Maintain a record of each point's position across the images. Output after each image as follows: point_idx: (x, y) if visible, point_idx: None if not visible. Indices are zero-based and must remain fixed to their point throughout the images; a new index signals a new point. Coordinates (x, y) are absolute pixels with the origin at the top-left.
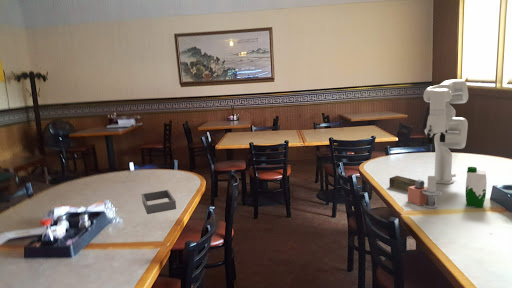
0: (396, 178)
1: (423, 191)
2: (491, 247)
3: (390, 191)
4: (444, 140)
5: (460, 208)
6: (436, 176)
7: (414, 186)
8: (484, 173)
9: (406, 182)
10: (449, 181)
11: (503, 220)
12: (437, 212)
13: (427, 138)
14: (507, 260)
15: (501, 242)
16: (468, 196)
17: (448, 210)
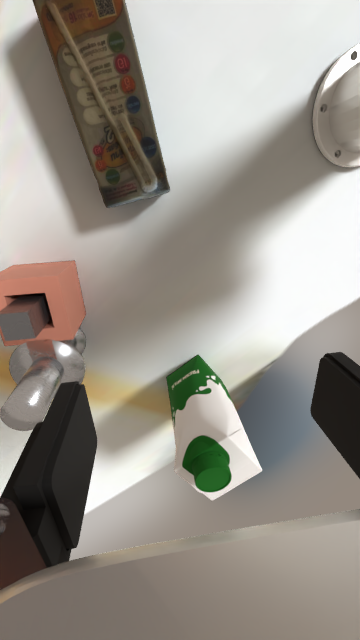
0: (58, 27)
1: (16, 357)
2: None
3: (7, 102)
4: (328, 433)
5: (135, 383)
6: (346, 92)
7: (19, 287)
8: (223, 491)
9: (80, 136)
10: (357, 155)
11: (160, 461)
12: None
13: (10, 482)
14: None
15: None
16: (170, 400)
17: (90, 383)
